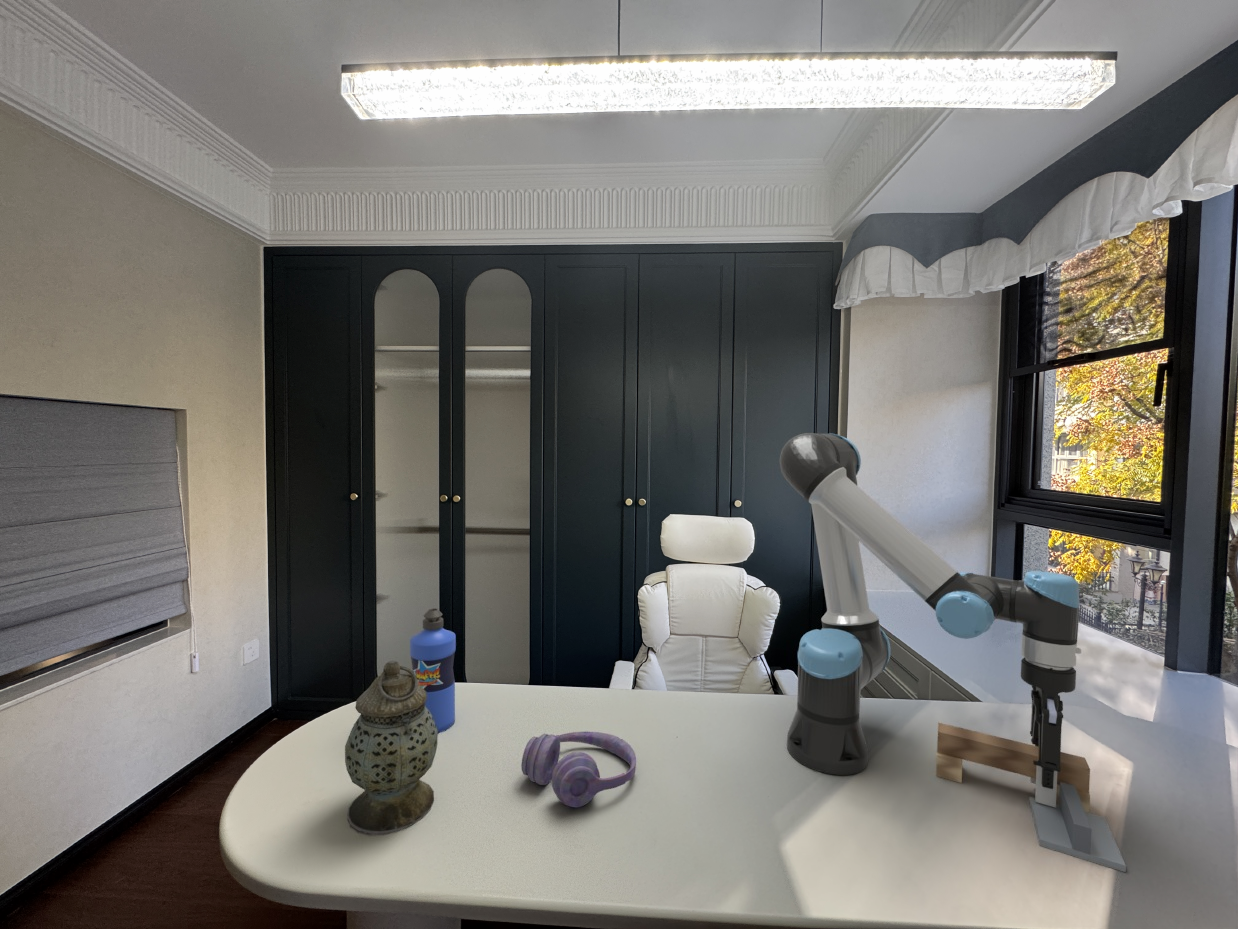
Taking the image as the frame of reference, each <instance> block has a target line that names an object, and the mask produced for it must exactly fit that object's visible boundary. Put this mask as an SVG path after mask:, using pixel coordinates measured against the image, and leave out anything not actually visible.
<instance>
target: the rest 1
mask: <svg viewBox="0 0 1238 929" xmlns="http://www.w3.org/2000/svg"><path fill="white" fill-rule="evenodd" d="M937 742H938V739H937ZM937 742H936V743H937ZM935 771H936V772H935V773H936V775H935V776H936V777H939V778H943V779H946V780H950V781H952V782H956V783H959V784H962V781H963V780H962V779H963V778H962V777H963V759H960V758H956V757H952V756H949V755H945V754H941V753H937V752H936V770H935Z"/></svg>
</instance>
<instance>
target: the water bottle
mask: <svg viewBox="0 0 1238 929" xmlns="http://www.w3.org/2000/svg"><path fill="white" fill-rule="evenodd" d="M442 616H443V613H442V612H441V611H440V610H439V609H438V608H430V609H428V610H427V611H426V612H425V613H424V614H423V618H424V619H423V620H422V630H421V631H420V632H418V633H416V634H414V635H412V636H411V637H410V638H409V656H410V659H411V668H412V669H411V670H412V671H413V673H414V674H415V675H416V677H417V681H418V684H419V685H420V686H421V687H422V688H423V689H424V690H425V691H426V692H427V700H426V702H425V706H426V708H427V709H428V710H429V711H430V713H431V715H432V717H433V719H434V722H435V724H436V727H437V730H438V734H439V733H440V734H441V733H443V732H445V731H447V730H449V729H451V728H452V726H454V724H455V722H456V721H455V720H456V706H455V705H456V682H455V681H456V680H455V675H454V668H453V667H454V659H455V652H456V646H457V642H456V641H457V640H456V639H457V638H456V637H457V636H456V633H455V632H453V631H452V630H447V629H445V628H444V618H443V617H442Z"/></svg>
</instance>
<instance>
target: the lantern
mask: <svg viewBox="0 0 1238 929" xmlns="http://www.w3.org/2000/svg"><path fill="white" fill-rule="evenodd" d="M426 700H427V692H426V691H425V690H424V689H423V688H422V687H421V686H420V685H419V684H418V681H417V677H416V675H415V674H414V673H413V670H412V669H411V668H408V667H406V666H402V665H400V663H399V662H398V661H396V660H389V661H388V662H386V663H385V664H384V666H383V671H382V672H381V674H380V675H379V676H377V677H376V678H375V679H374V680H373V682H372V683H371V685H369V687H368V688H367V689H366V690H365V691H363V693H362V694H361V695H359V697H358V698H357V699H356V701H355V707H354V708H355V710H356V711H357V713H358V714H359V716H358V718H357V720H356V721H355V723H354V724H353V726H352V727H351V730H350V733H349V735H348V738H347V740H346V743H345V745H344V762H345V768H346V771H347V774H348V776H349V778H350V780H351V783H353V785H354V784H355V785H356V786H358V787H359V788H361V789H362V790H363V792H362V793H360V794H359V795H358V796H357V797H356V798H355V799H354V800H353V801H352V802H351V803H350V805H349V806H348V808H347V822H348V824H349V827H350V828H351V829H352V830H354V831H355V832H357V833H358V834H359V833H360V834H364V835H367V836H368V835H369V836H384V835H388V834H392V833H397V832H400V831H402V830H404V829H407V828H408V827H411V826H413V825H414V824H416V823H418V822H419V821H421V820H422V819H423V818H424V817H425V816H426V815H427V814H428V813H429V812H430V811H431V809H432V807H433V804H434V803H435V795H434V794H435V793H434V792H435V791H434V790H433V788H432V787H431V785H430V784H428V783H426V782H424V781H422V780H421V778H423V777H424V776H425V774H426V773H427V772H428V771H429V770H430V769H431V768H432V766H433V762H434V759H435V757H436V754H437V749H438V735H439V733H438V730H437V727H436V724H435V722H434V719H433V717H432V715H431V713H430V711H429V710H428V709H427V708H426V706H425V702H426Z"/></svg>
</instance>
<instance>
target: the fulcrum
mask: <svg viewBox="0 0 1238 929" xmlns="http://www.w3.org/2000/svg"><path fill="white" fill-rule="evenodd" d="M1028 801H1029V807H1030V811H1031V815H1032V819H1033V824H1034V827H1035V828H1034V829H1035V832H1036V836H1037V840H1038V845H1039V846H1040V847H1043V848H1046V849H1049V850H1053V851H1056V852H1059V853H1063V854H1065V855H1069V856H1072V857H1076V858H1078V859H1081V860H1085V861H1088V862H1090V863H1095V864H1098V865H1101V866H1104V867H1107V868H1110V869H1114V870H1117V871H1120V872H1123V873H1126V870H1127V869H1126V868H1127V865H1126V863H1125V861H1124V859H1123V856H1122V853H1121V852H1120V849H1119V846H1118V844H1117V842H1116V840H1115V838H1114V835H1113V832H1112V830H1111V827H1110V826H1109V824H1108V821H1107V819H1106V817H1104V816H1101V815H1097V814H1093V813H1090V812H1089V813H1087V812H1085V810H1084V808H1083V805H1082V803H1081V800H1080V797H1079V795H1078V792H1077V790H1076V787H1075V786H1074V785H1070V784H1066V783H1063V782H1060V790H1059V805H1058V804H1056V807H1052V806H1049V805H1045V804H1041V803H1038V802H1036V801H1035V797H1032V796H1029V798H1028Z"/></svg>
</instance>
